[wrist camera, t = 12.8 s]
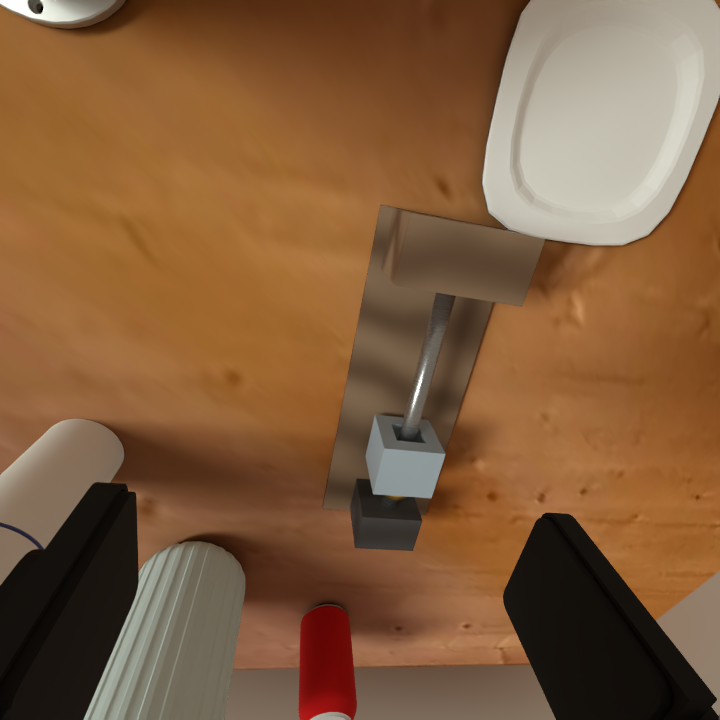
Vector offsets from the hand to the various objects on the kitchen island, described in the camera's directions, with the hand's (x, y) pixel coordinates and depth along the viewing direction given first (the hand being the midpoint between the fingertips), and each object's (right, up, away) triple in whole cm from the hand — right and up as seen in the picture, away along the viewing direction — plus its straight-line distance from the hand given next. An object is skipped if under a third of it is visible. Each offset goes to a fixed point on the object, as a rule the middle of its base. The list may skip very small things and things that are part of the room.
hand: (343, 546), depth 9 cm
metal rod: (+5, 0, +29) cm, 30 cm away
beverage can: (-4, -29, +43) cm, 52 cm away
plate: (+19, +24, +24) cm, 39 cm away
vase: (-18, -19, +38) cm, 46 cm away
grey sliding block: (+4, -4, +32) cm, 32 cm away
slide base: (+5, +2, +31) cm, 31 cm away
